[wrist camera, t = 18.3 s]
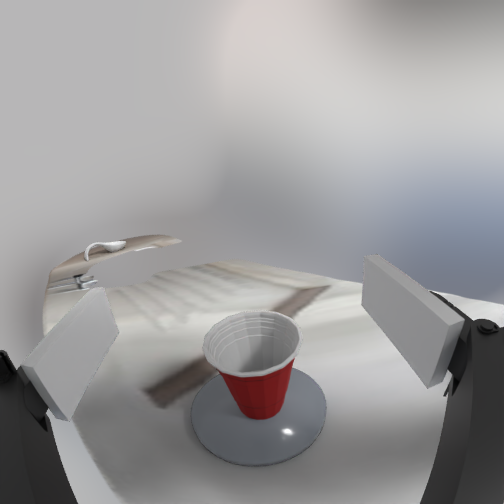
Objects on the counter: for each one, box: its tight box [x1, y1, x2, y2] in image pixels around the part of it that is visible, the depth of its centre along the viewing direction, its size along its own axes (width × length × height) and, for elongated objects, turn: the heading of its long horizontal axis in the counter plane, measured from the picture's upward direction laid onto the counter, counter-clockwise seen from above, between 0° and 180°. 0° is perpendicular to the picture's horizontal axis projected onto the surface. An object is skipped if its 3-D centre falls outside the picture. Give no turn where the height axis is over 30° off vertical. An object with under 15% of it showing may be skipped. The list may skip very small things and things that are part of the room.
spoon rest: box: [85, 241, 126, 261], centre depth 121 cm, size 24×12×7 cm, turn 140°
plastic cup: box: [202, 310, 303, 420], centre depth 30 cm, size 11×11×12 cm
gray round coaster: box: [191, 368, 326, 466], centre depth 32 cm, size 18×18×2 cm
